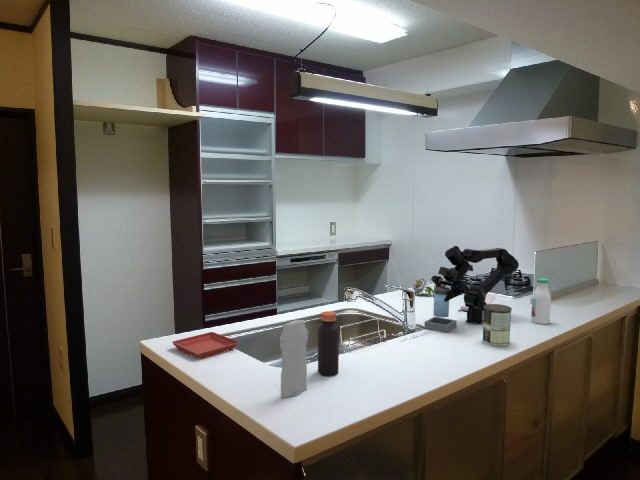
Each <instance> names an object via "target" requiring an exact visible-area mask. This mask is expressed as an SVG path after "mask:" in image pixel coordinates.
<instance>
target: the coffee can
mask: <svg viewBox="0 0 640 480" xmlns="http://www.w3.org/2000/svg"><path fill="white" fill-rule="evenodd" d="M512 309H513V308H512V307H511V306H508V305H505V304H498V303H490V304H487V305H484V319H483V320H484V321H483V322H482V342H483V343H484V344H487V345H491V346H497V347H504V346H506V347H507V346H509V345H510V344H511V342H510V339H511V338H510V337H511V323H512V322H511V321H512V320H511V319H512V318H511V317H512Z"/></svg>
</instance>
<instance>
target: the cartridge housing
mask: <svg viewBox="0 0 640 480" xmlns="http://www.w3.org/2000/svg"><path fill="white" fill-rule="evenodd" d="M457 323H458V320H455V319H450V318H447V317H436V316H432V317H431V318H428V319H427V320H425V321H424V327H423V328H424V329H425V330H431V331H437V332H440V333H441V332H442V333H450V332H451V331H453V330H454V329H456V328H457V325H458V324H457Z"/></svg>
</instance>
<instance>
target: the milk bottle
mask: <svg viewBox="0 0 640 480" xmlns="http://www.w3.org/2000/svg"><path fill="white" fill-rule="evenodd" d="M536 284H537V286H536V288H535V289H534V292H533V294H532V302H531V315H530V316H531V318H530V319H531V322H532V323H533V324H534V323H535V324H537V325H538V324H539V325H548V324H550V322H551V309H552V308H551V306H552V305H551V304H552V295H551V292H550V289H549V287H548V285H549V279H548V278H542V277H541V278H537V280H536Z"/></svg>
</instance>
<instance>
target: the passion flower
mask: <svg viewBox="0 0 640 480" xmlns="http://www.w3.org/2000/svg"><path fill="white" fill-rule="evenodd" d="M426 279H427V278H426V277H423V278H420V279H416V280H414V283H413V284H412V286H411V287H410V289H411V288H412V290H413V291H414V292H415V293H414V294H415V296H419V295H422V294H423V291H424V292H425V293H426V294H427V295H428V296H429V297H432V295H434V287H436V285H435V284H434V285H433V288H432V285H431V286H429V284H430V283H431V281H430V280H428V281H426Z"/></svg>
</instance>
